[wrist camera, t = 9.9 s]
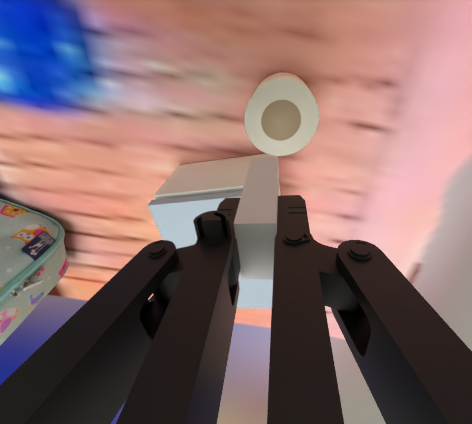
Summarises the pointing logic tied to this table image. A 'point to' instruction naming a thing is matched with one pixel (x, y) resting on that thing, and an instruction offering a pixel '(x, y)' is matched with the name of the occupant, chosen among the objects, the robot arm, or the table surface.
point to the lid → (183, 234)
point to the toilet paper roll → (281, 115)
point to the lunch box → (27, 262)
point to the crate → (208, 177)
